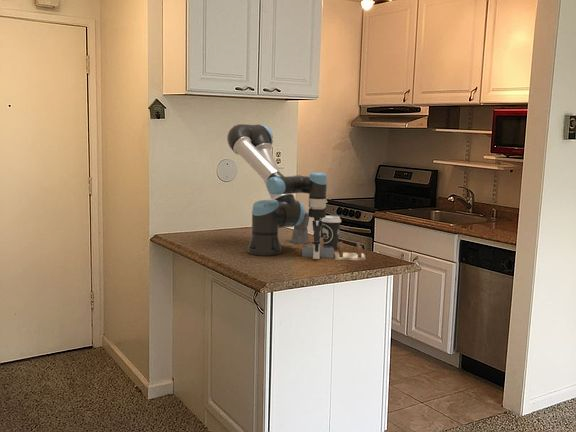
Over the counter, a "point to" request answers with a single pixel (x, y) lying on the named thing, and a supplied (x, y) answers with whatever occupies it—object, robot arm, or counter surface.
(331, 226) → the coffee cup
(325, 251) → the grey metal bar
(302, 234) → the coffeepot
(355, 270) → the counter surface
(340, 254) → the rack
